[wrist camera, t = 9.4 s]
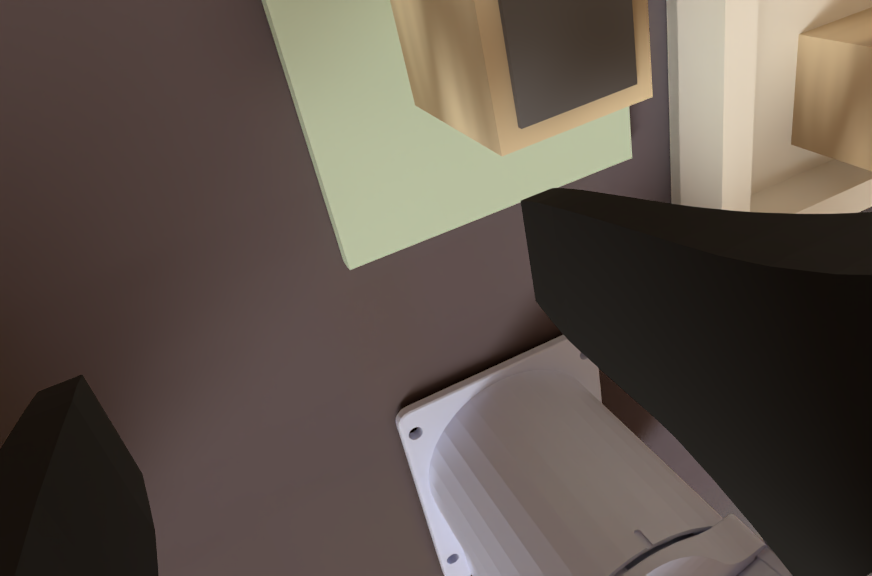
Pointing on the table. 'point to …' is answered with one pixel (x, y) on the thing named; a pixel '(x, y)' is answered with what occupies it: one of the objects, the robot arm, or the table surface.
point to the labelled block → (524, 64)
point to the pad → (406, 135)
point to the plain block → (835, 90)
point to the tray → (749, 109)
